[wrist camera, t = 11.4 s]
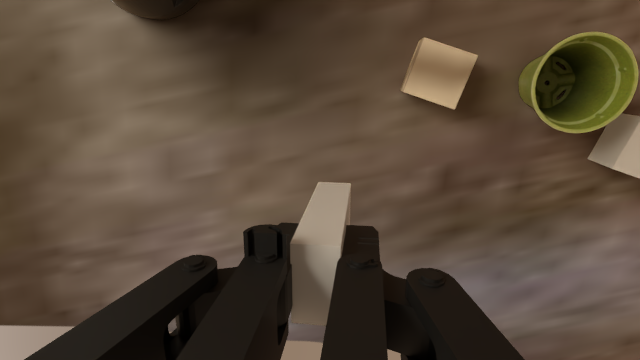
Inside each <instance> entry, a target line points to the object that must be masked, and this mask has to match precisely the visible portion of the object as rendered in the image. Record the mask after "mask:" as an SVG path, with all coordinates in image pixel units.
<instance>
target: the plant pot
mask: <svg viewBox="0 0 640 360" xmlns="http://www.w3.org/2000/svg"><path fill="white" fill-rule="evenodd" d="M556 62H559V63H561V64H563V65H564V66H565V68H566V69H565V70H563V69H562V68H561V67H560V66H558V65H557V64H556ZM638 77H639V70H638V65H637V61H636V58H635V56H634V54H633V52H632V50H631V49H630V48H629V46H628V45H627V44H626V43H624V42H623V41H622V40H620V39H619V38H617V37H615V36H613V35H610V34H607V33H603V32H585V33H580V34H576V35H573V36H571V37H568V38H566V39H564V40H562V41H561V42H559V43H558V44H556V45H555V46H554V47H552V48H551V49H550V50H549V51H548V52H547V53H546V54H545V55H543V56H541V57H539V58H537V59H535V60H533V61H532V62H530V63H529V64H528V65H527V66H526V67H525V68H524V70H523V71H522V73H521V75H520V78H519V94H520V96H521V98H522V100H523V101H524V102H525V103H526V104H527V105H529V106H530V107H532V108H534V110H535V111H536V113H537V115H538V116H539V117H540V119H541V120H542V121H543V122H545V123H546V124H547V125H549V126H550V127H552V128H554V129H557V130H559V131H563V132H567V133H585V132H590V131H594V130H597V129H599V128H602V127H604V126H606V125H607V124H609V123H610V122H612V121H613V120H615V119H616V118H617V117H618V116H619V115H620V114H621V113H622V112H623V111H624V110H625V109H626V107H627V106H628V105H629V103H630V102H631V100H632V98H633V96H634V93H635V91H636V88H637V84H638ZM545 81H549V84H548V85H545ZM564 89H566V90H565V93H564V95H563V96H562V97H561V98H560V99H556V97H558V96H559V95H560V94H561V93H562V92H563V91H564Z"/></svg>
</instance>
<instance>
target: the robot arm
mask: <svg viewBox="0 0 640 360" xmlns="http://www.w3.org/2000/svg"><path fill="white" fill-rule="evenodd" d="M111 1H112V2H113V3H114V4H116V5H117V6H118V7H120V8H122V9H123V10H125V11H127V12H129V13H132V14H134V15H137V16H141V17H145V18H149V19H157V20H163V19H170V18H174V17H177V16H179V15H181V14H183V13H185V12H187V11H188V10H189V9H191V8H192V7H193V6H194V5H195V4H196V3H197V2H198V1H199V0H111ZM350 201H351V183H331V182H318V184H317V186H316V188H315V190H314V193H313V195H312V197H311V199H310V201H309V203H308V206H307V208H306V210H305V212H304V214H303V216H302V219H301V221H300V223H280V224H279V225H258V226H253V227H250V228H248V229H246V230H245V231H244V232H243V235H244V253H245V257H244V258H243V260H242V261H241V263H240V264H239V266H238V267H233V268H224V269H217V261H216V260H215V259H214V258H212V257H210V256H203V255H196V256H195V255H191V256H189V257H186V258H183V259H180V260H178V261H176V262H175V263H173V264H172V265H170V266H168V267H167V268H165V269H164V270H162V271H161V272H159V273H158V274H156V275H155V276H153V277H151V278H150V279H148V280H147V281H145V282H144V283H142V284H141V285H139V286H137V287H136V288H134V289H133V290H131V291H130V292H128V293H127V294H125V295H124V296H122V297H120V298H119V299H117V300H116V301H114V302H113V303H111V304H110V305H108V306H107V307H105V308H103V309H102V310H100V311H99V312H97V313H96V314H94V315H93V316H91V317H89V318H88V319H86V320H85V321H83V322H82V323H80V324H79V325H77V326H76V327H74V328H72V329H71V330H69V331H68V332H66V333H65V334H63V335H62V336H60V337H58V338H57V339H55V340H54V341H52V342H51V343H49V344H48V345H46V346H45V347H43V348H41V349H40V350H38V351H37V352H35V353H34V354H32V355H31V356H29V357H28V358H26V359H24V360H280V359H281V356H282V352H283V349H284V346H285V343H286V340H287V336H288V318H289V315H290V312H291V321H292V323H300V324H312V325H324V326H326V330H325V336H324V341H323V348H322V353H321V359H320V360H388V358H387V357H388V356H387V349H389V350H392V351H395V352H398V353H401V360H524V359H523V357H522V356H521V355H520V354H519V353H518V352H517V350H516V349H515V348H514V347H513V346H512V345H511V344H510V342H509V341H508V340H507V339H506V338H505V337H504V335H503V334H502V333H501V332H500V331H499V330H498V329H497V327H496V326H495V325H494V324H493V323H492V322H491V320H490V319H489V318H488V317H487V316H486V315H485V314H484V312H483V311H482V310H481V309H480V308H479V307H478V305H477V304H476V303H475V302H474V301H473V300H472V299H471V297H470V296H469V295H468V294H467V293H466V292H465V290H464V289H463V288H462V287H461V286H460V285H459V284H458V282H457V281H456V280H455V279H454V278H453V277H451V276H450V275H449V274H447V273H445V272H442V271H440V270H437V269H433V268H421V269H415V270H413V271H411V272H409V273H408V275H407V279H402V278H399V277H395V276H393V275H391V274H388V273H387V272H386V271H384V270H383V269H382V264H381V262H380V254H379V237H378V231H377V230H376V229H375V228H374V227H373V226H356V225H350ZM174 318H176V326H177V329H175V330H174V331H173V332H172V333H170V334H169V332H168V324H169V323H170V322H171V321H172V320H173V319H174Z"/></svg>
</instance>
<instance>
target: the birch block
mask: <svg viewBox="0 0 640 360" xmlns="http://www.w3.org/2000/svg"><path fill="white" fill-rule="evenodd" d="M477 57H478V55H475V54H472V53H469V52H466V51H464V50H461V49H458V48H455V47H452V46H449V45H446V44H443V43H440V42H437V41H434V40H431V39H428V38H425V37H424V38H422V39H421V40H419V41H418V44H417V47H416V49H415V52H414V54H413V57H412V60H411V62H410V65H409V68H408V70H407V73H406V75H405V78H404V81H403V83H402V86H401V88H400V90H401V91H402V92H405V93H408V94H411V95H413V96H416V97H419V98H422V99H425V100H428V101H431V102H434V103H437V104H440V105H442V106H445V107H448V108H451V109H454V110H455V108H456V105H457V103H458V101H459V99H460V96H461V94H462V92H463V89H464V87H465V85H466V82H467V80H468V78H469V75H470V73H471V71H472V69H473V66H474V64H475V62H476V59H477Z"/></svg>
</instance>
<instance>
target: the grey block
mask: <svg viewBox="0 0 640 360" xmlns="http://www.w3.org/2000/svg"><path fill="white" fill-rule="evenodd" d="M588 159H589V160H591V161H594V162H596V163H599V164H601V165H604V166H606V167H609V168H611V169H614V170H617V171H620V172H623V173H625V174H628V175H631V176H634V177H637V178H640V116H635V115H629V114H623V113H621V114H620V115H619V116H618V117H617V118H616V119H615V120H613V121H612V122H610V123H609V124H607V126H606V127H605V129H604V131H603V133H602V134H601V136H600V138H599V140H598V141H597V143H596V145H595V146H594V148H593V150H592V152H591V153H590V155H589V157H588Z"/></svg>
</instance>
